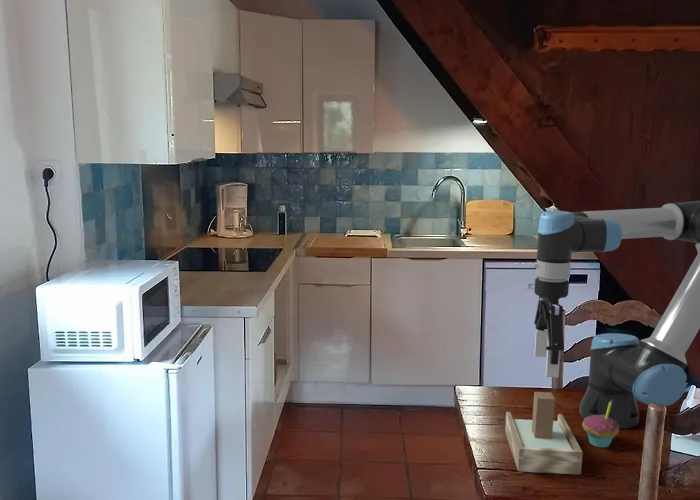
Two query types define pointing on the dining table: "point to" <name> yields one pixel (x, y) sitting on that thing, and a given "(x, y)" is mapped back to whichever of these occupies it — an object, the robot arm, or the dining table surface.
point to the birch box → (544, 452)
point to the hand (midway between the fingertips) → (545, 366)
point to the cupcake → (600, 428)
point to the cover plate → (541, 442)
